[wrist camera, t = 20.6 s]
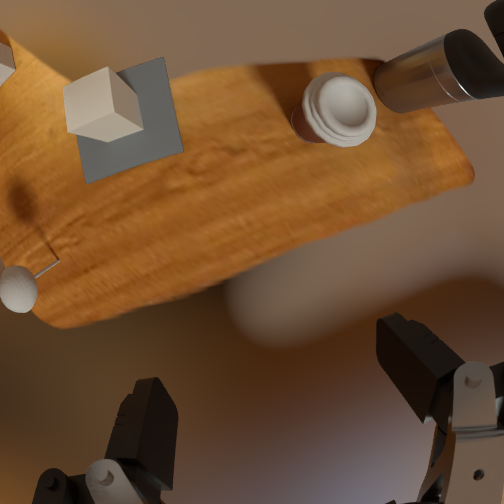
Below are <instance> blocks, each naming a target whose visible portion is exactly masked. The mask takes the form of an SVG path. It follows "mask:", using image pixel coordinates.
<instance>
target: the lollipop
mask: <svg viewBox="0 0 504 504" xmlns="http://www.w3.org/2000/svg"><path fill="white" fill-rule="evenodd" d="M58 262H60V259H58V260H56V261H55V262H53V263H52V264H50V265H49V266H47V267H46V268H44V269H43V270H41V271H40V272H38V273H37V274H35V275H34V276H33V274H32V273H31V272H30V271H29V270H28V269H27V268H25V267H22V266H13V265H12V266H9V267H7V268H6V269H5V270H4V271H3V273H2V275H1V278H0V297H1V299H2V301H3V303H4V304H5V306H6V307H7V308H9V309H10V310H12V311H14V312H21V313H25V312H27V311H29V310H30V309H32V307H33V305H34V303H35V301H36V298H37V293H38V287H37V282H36V279H35V278H37V277H38V276H40V275H41V274H42V273H44V272H45V271H47V270H48V269H50V268H51V267H53V266H54V265H56V264H57V263H58Z"/></svg>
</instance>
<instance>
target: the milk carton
mask: <svg viewBox="0 0 504 504" xmlns="http://www.w3.org/2000/svg"><path fill="white" fill-rule="evenodd" d="M14 71H15V65H14V60H13V55H12V49H11V48H10V47H8V46H6V45H5V44H3V43H1V42H0V86H1V85H2V84H3V83H4V82H5V81H6V80H7V79H8V78H9V77H10V76H11V74H12V73H13V72H14Z"/></svg>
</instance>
